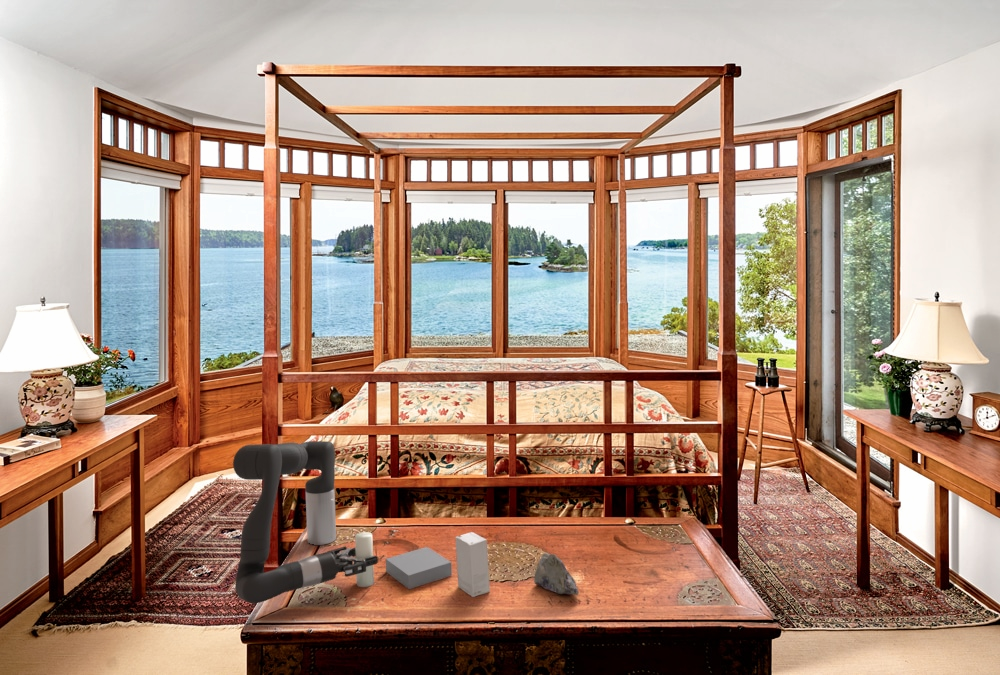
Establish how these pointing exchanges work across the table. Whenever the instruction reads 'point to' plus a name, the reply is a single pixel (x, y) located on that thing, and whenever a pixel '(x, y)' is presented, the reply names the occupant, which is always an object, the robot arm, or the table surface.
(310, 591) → the table surface
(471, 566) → the skincare box
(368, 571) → the white cylinder
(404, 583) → the slate plinth
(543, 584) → the mineral rock
